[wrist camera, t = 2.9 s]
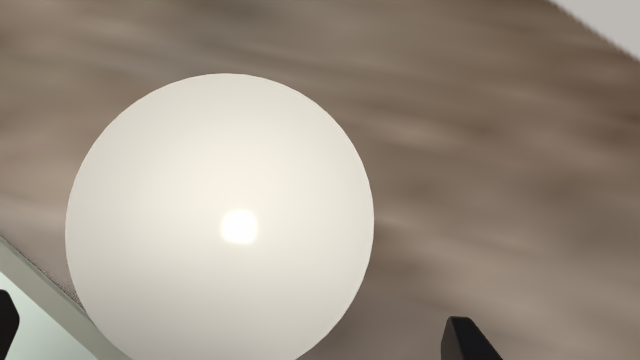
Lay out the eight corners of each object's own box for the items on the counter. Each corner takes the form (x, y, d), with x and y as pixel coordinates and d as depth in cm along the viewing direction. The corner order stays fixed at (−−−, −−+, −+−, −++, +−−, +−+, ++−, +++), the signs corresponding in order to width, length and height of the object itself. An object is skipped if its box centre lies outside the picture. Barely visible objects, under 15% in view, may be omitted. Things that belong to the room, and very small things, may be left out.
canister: (375, 239, 19) (435, 192, 9) (289, 352, 19) (238, 455, 8) (269, 157, 20) (203, 19, 9) (182, 262, 19) (0, 244, 9)
